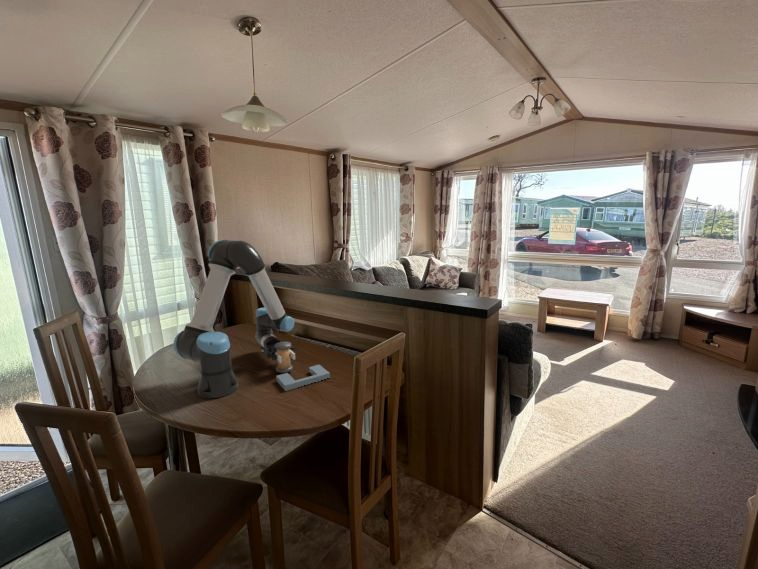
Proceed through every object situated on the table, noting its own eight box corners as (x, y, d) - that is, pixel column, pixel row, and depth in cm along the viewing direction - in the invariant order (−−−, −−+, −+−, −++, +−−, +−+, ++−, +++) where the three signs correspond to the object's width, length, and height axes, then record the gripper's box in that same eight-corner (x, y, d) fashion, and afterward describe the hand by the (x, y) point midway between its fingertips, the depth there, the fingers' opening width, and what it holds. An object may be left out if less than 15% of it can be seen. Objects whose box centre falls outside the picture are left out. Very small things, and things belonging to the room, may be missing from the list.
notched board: (285, 391, 144) (285, 385, 144) (276, 381, 153) (276, 375, 153) (330, 378, 155) (329, 373, 155) (319, 369, 164) (319, 364, 163)
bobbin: (279, 374, 157) (277, 348, 155) (274, 368, 163) (272, 343, 160) (294, 370, 161) (293, 345, 159) (289, 364, 167) (287, 340, 164)
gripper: (289, 346, 181) (307, 361, 162) (252, 354, 171) (267, 371, 152) (288, 332, 180) (307, 345, 161) (251, 339, 169) (265, 354, 150)
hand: (287, 358), depth 156 cm, fingers closed on bobbin, 5 cm apart
